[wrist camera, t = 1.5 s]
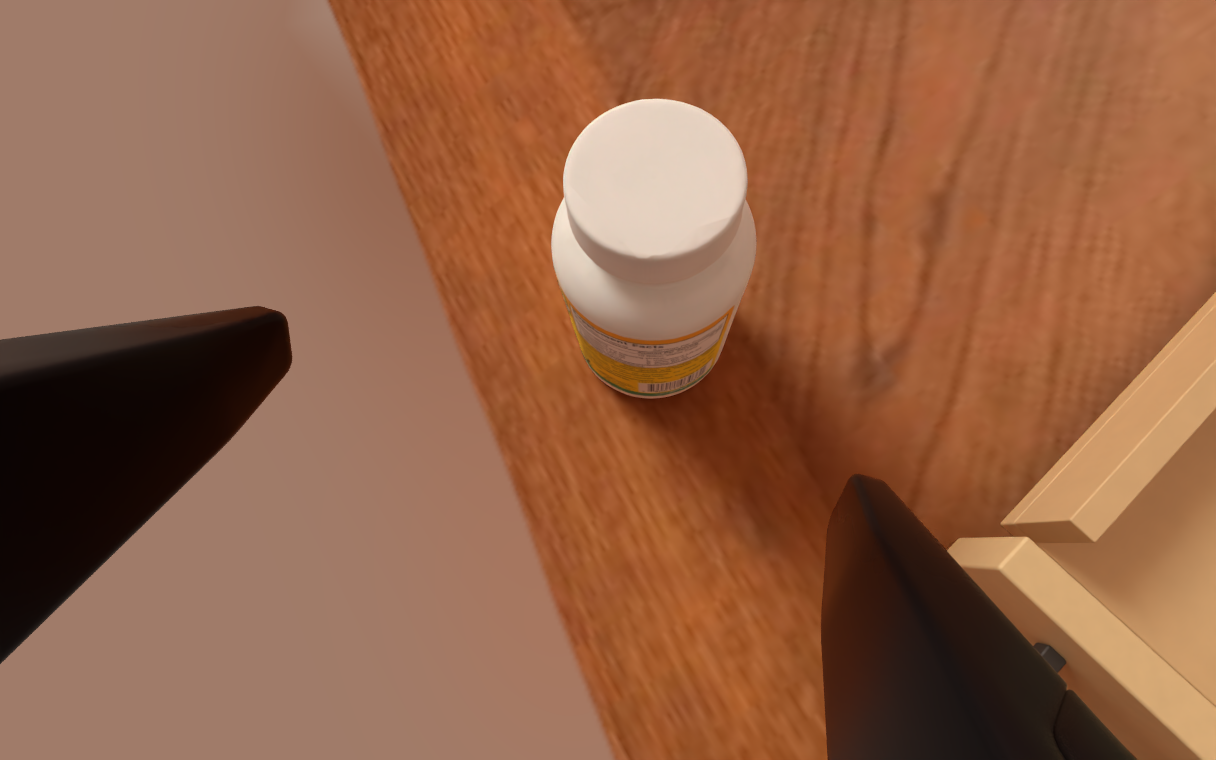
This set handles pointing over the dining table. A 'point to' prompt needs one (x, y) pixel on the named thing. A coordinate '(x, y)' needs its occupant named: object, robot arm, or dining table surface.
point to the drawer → (1126, 557)
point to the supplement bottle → (653, 244)
